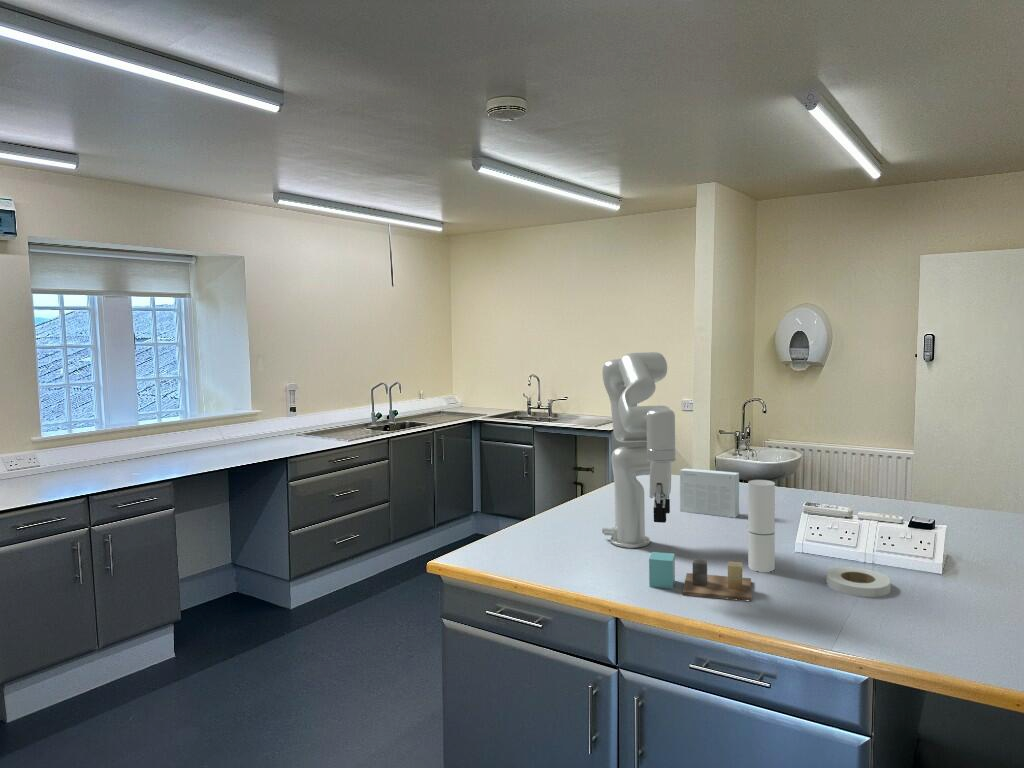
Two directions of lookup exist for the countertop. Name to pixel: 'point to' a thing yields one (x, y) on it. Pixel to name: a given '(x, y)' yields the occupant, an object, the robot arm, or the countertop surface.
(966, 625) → the countertop surface
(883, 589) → the roll of tape
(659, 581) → the aqua foam cube
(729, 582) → the wooden post
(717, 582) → the walnut board
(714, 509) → the skincare box
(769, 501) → the cylindrical container
